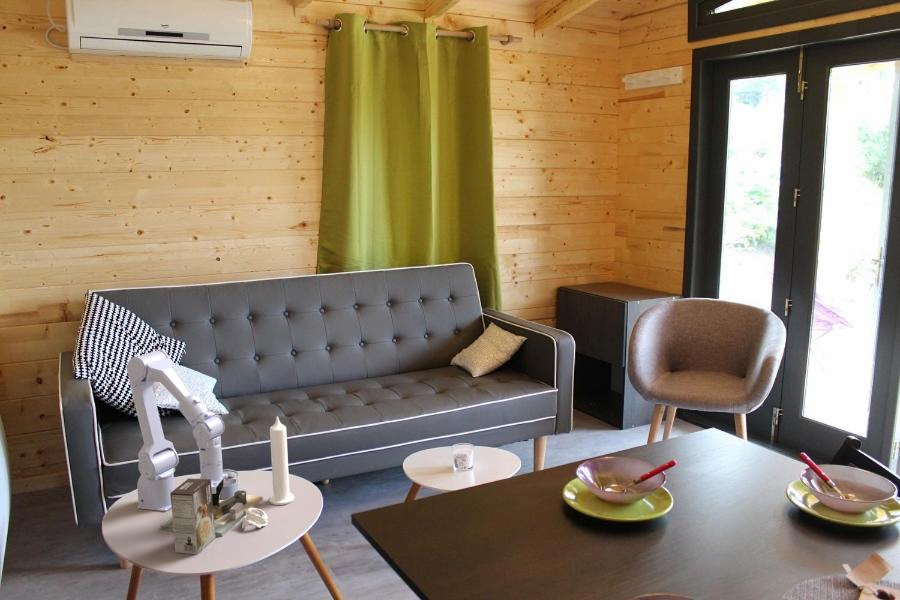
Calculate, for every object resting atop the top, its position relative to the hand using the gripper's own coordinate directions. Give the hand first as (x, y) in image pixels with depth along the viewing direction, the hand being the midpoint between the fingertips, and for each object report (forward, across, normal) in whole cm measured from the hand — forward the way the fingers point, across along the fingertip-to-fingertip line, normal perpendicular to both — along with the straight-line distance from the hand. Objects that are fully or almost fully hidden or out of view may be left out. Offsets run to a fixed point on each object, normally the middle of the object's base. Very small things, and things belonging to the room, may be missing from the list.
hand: (214, 507), depth 207 cm
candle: (+3, +5, -18) cm, 19 cm away
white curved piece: (+3, -8, -10) cm, 13 cm away
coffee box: (+3, -15, +4) cm, 16 cm away
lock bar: (+1, +1, -4) cm, 4 cm away
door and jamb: (+3, +2, 0) cm, 3 cm away
